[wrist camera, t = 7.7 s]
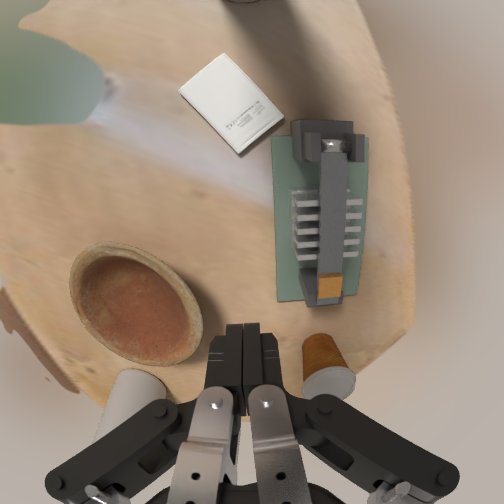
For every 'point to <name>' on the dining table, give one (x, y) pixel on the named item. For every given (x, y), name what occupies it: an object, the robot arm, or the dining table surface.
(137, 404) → the cylinder vase
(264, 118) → the external hard drive
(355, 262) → the board
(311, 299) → the post
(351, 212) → the heatsink
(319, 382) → the disposable coffee cup
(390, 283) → the dining table surface
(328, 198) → the strap
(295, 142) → the hinge post
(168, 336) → the bowl
